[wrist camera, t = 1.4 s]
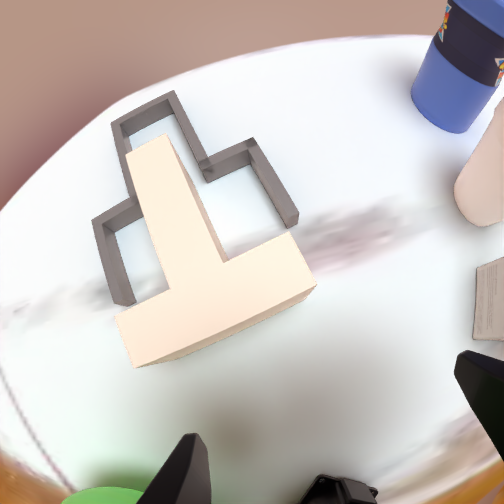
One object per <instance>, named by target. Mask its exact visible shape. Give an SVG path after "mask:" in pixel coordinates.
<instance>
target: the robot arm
mask: <svg viewBox="0 0 504 504" xmlns="http://www.w3.org/2000/svg"><path fill="white" fill-rule="evenodd" d="M454 375H455V378H456V380H457V382H458V383H459V385H460V387H461V389H462V391H463V393H464V395H465V397H466V399H467V401H468V403H469V405H470V407H471V408H472V410H473V412H474V413H475V415H476V416H477V418H478V419H479V421H480V423H481V424H482V426H483V427H484V429H485V431H486V432H487V434H488V436H489V437H490V439H491V441H492V442H493V444H494V446H495V447H496V449H497V451H498V453H499V454H500V456H501V458H502V460H503V461H504V361H501V360H498V359H495V358H492V357H489V356H486V355H483V354H480V353H476V352H473V351H470V350H465V351H463V352H462V353H460V354H459V355H458V356H457V360H456V364H455V369H454ZM320 479H324V480H323V481H319V480H320ZM372 492H374V493H373V494H371V493H372ZM377 494H378V491H377V489H375V488H372V487H367V485H366V484H364V483H360V482H356V481H352V480H348V479H345V478H343V479H337V478H333V477H330V476H327V475H319V476H318V477H317V478H316V479H315V481H314V482H313V483H312V485H311V486H310V488H309V489H308V490H307V492H306V493H305V494H304V496H303V497H302V498H301V500H300V501H299V502H298V504H377V502H376V500H375V497H376V496H377ZM136 504H211V482H210V473H209V463H208V453H207V448H206V446H205V444H204V443H203V441H202V439H201V438H200V436H199V435H198V434H197V433H189V434H185V435H184V436H183V437H182V438H181V440H180V441H179V443H178V444H177V446H176V447H175V449H174V450H173V452H172V453H171V455H170V456H169V457H168V459H167V460H166V462H165V463H164V465H163V466H162V467H161V469H160V470H159V472H158V473H157V475H156V476H155V477H154V479H153V480H152V482H151V483H150V484H149V486H148V487H147V489H146V490H145V491H144V493H143V494H142V496H141V497H140V498H139V500H138V501H137V502H136Z"/></svg>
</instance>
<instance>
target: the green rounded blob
mask: <svg viewBox="0 0 504 504" xmlns="http://www.w3.org/2000/svg"><path fill="white" fill-rule="evenodd" d="M143 493H144V492H141V491H138V490H133V489H128V488H122V487H95V488H89V489H85V490H82V491H79V492H76V493H74V494H72V495H71V496H69V497H67V498H66V499H65V500H64V501H63V502H62V503H61V504H136V502H137V501H138V500H139V498H140V497H141V496H142V494H143Z"/></svg>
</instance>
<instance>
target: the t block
mask: <svg viewBox="0 0 504 504" xmlns="http://www.w3.org/2000/svg"><path fill="white" fill-rule="evenodd" d="M125 156H126V160H127V163H128V167H129V170H130V173H131V177H132V180H133V184H134V187H135V190H136V193H137V196H138V200H139V203H140V206H141V209H142V212H143V215H144V218H145V221H146V224H147V227H148V230H149V233H150V236H151V238H152V241H153V244H154V247H155V250H156V252H157V255H158V258H159V261H160V263H161V266H162V269H163V271H164V274H165V276H166V279H167V282H168V284H169V287H170V289H169V290H167V291H165V292H163V293H161V294H159V295H157V296H155V297H153V298H151V299H148V300H146V301H144V302H142V303H140V304H138V305H136V306H134V307H132V308H130V309H128V310H126V311H124V312H122V313H120V314H118V315H116V316H114V317H115V320H116V323H117V326H118V329H119V332H120V334H121V337H122V340H123V342H124V345H125V348H126V350H127V353H128V355H129V358H130V360H131V363H132V365H133V368H139V367H144V366H149V365H153V364H158V363H162V362H167V361H171V360H175V359H178V358H181V357H183V356H185V355H188V354H190V353H192V352H195V351H197V350H199V349H202V348H204V347H206V346H208V345H211V344H213V343H215V342H217V341H220V340H222V339H224V338H226V337H229V336H231V335H233V334H235V333H237V332H239V331H242V330H244V329H246V328H248V327H250V326H252V325H254V324H256V323H258V322H261V321H263V320H265V319H267V318H269V317H271V316H273V315H275V314H277V313H279V312H281V311H283V310H285V309H287V308H289V307H291V306H293V305H295V304H297V303H299V302H301V301H303V300H305V299H306V298H307V296H308V295H309V294H310V293H311V291H312V290H313V289H314V288H315V287H316V285H317V283H316V281H315V279H314V277H313V275H312V273H311V271H310V269H309V268H308V266H307V264H306V262H305V260H304V258H303V256H302V255H301V253H300V251H299V249H298V247H297V245H296V243H295V242H294V240H293V238H292V236H291V234H290V232H287V233H284V234H282V235H280V236H278V237H276V238H274V239H272V240H270V241H268V242H266V243H264V244H262V245H260V246H258V247H256V248H253V249H251V250H249V251H247V252H245V253H243V254H241V255H239V256H237V257H235V258H233V259H231V260H228V258H227V256H226V253H225V251H224V249H223V247H222V245H221V243H220V241H219V238H218V236H217V234H216V232H215V230H214V228H213V225H212V223H211V221H210V219H209V217H208V214H207V212H206V210H205V208H204V206H203V203H202V201H201V199H200V197H199V195H198V192H197V190H196V188H195V186H194V184H193V181H192V180H191V178H190V176H189V174H188V172H187V171H186V169H185V167H184V165H183V163H182V161H181V160H180V158H179V156H178V154H177V152H176V151H175V149H174V147H173V145H172V143H171V141H170V140H169V138H168V136H167V134H166V133H165V134H163V135H161V136H159V137H157V138H155V139H153V140H151V141H149V142H148V143H146V144H144V145H142V146H140V147H138V148H137V149H135V150H133V151H131V152H129V153H128V154H126V155H125Z"/></svg>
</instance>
